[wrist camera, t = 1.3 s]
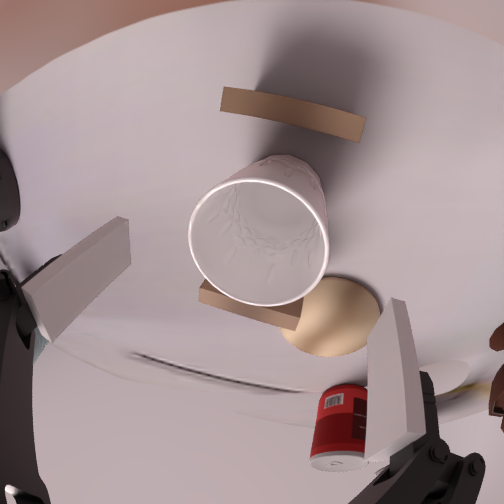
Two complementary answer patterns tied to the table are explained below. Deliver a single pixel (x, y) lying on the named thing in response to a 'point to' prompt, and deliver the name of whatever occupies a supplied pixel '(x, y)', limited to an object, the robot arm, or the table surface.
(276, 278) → the white cup
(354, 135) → the walnut cradle
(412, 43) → the table surface
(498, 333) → the ice cream bowl
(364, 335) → the cork coaster
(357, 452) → the canned food
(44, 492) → the robot arm
